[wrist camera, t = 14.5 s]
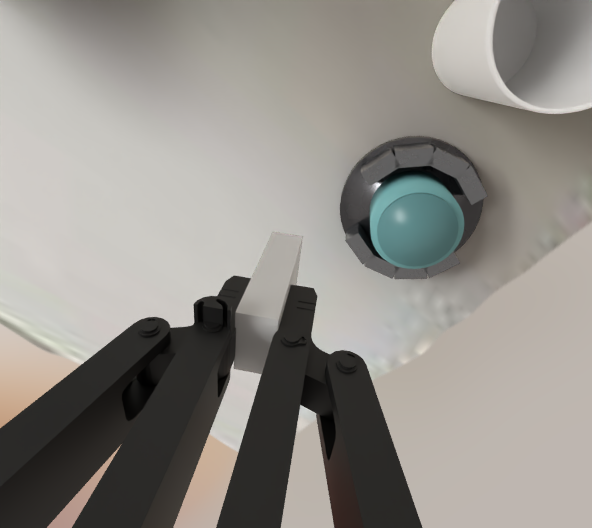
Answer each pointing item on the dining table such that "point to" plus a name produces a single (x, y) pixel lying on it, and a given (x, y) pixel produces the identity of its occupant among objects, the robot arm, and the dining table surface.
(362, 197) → the dark grey round bowl
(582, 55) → the cup
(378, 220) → the cap
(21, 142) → the dining table surface
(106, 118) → the dining table surface
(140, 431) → the robot arm
